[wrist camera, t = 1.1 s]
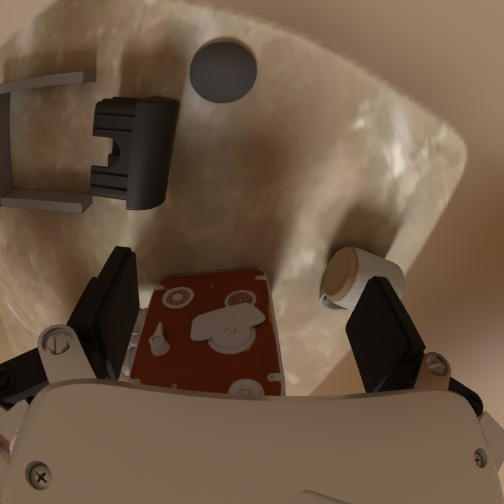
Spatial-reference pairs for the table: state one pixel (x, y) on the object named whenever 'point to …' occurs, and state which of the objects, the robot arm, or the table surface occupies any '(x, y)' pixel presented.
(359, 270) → the ceramic mug
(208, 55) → the lens cap
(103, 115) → the end cap
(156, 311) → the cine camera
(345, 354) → the table surface
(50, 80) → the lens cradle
